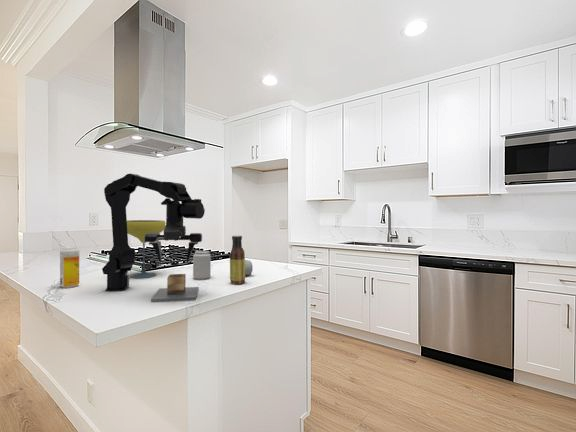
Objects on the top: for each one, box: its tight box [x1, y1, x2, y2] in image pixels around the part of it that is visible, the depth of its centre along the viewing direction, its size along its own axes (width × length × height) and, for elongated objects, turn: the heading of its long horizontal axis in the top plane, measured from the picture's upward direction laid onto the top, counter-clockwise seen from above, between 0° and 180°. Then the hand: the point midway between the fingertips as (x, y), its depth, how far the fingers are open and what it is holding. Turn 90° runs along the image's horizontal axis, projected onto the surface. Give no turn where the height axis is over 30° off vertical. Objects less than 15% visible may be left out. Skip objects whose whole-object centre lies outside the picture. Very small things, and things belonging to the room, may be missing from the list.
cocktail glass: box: [127, 219, 166, 279], centre depth 139 cm, size 18×18×25 cm
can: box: [192, 250, 212, 281], centre depth 136 cm, size 8×8×12 cm
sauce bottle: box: [229, 234, 246, 285], centre depth 127 cm, size 6×6×20 cm
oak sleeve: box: [166, 273, 187, 295], centre depth 108 cm, size 5×5×6 cm
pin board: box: [150, 286, 200, 303], centre depth 108 cm, size 14×14×6 cm
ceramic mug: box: [245, 259, 253, 277], centre depth 144 cm, size 11×8×8 cm
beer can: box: [59, 246, 80, 289], centre depth 119 cm, size 6×6×15 cm
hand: (174, 261), depth 109 cm, fingers open, 9 cm apart
